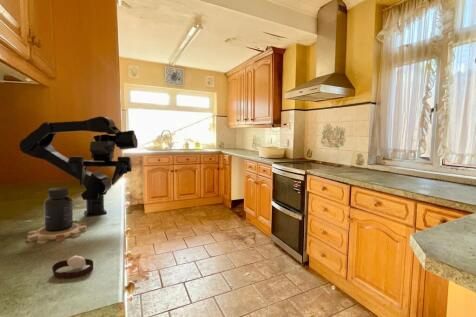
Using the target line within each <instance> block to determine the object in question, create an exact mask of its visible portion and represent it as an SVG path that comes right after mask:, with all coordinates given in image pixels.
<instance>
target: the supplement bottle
mask: <svg viewBox="0 0 476 317" xmlns="http://www.w3.org/2000/svg"><path fill="white" fill-rule="evenodd" d="M68 195H69V188H68V187H65V186H64V187H63V186H62V187H52V188H49V189H47V197H48V198H46V199H45V200H44V201H43V213H44V214H43V215H44V216H43V217H44V225H45V230H46V231H49V232H57V231H63V230H66V229H69V228H70V227H72V225H73V221H74V220H73V219H74V218H73V216H74V214H73V198H72V197H71V196H70V195H69V196H68Z"/></svg>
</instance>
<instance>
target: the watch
mask: <svg viewBox="0 0 476 317" xmlns="http://www.w3.org/2000/svg"><path fill="white" fill-rule="evenodd" d="M85 266H88V267H86V268H84V267H85ZM65 267H70V268H72V269H77V270H76V271H71V272H70V271H68V272H67V271H66V272H65V271H62V272H58V270H60V269H61V268H65ZM82 268H84V269H82ZM78 269H82V270H78ZM51 270H52V273H53V277H55V278H56V277H57V278H56V279H62V278H64V279H63V280H66V279H69V280H70V279H75V278H80V277H85V276H87V275H89V274H90V273H92V271H94V261H93V260H92V259H89V258H85V257H83V256H80V255H76V254H75V255H74V256H71V257H70V258H69V259H66V260H65V259H64V260H61V261H58V262H56V263H54V264H52V268H51Z"/></svg>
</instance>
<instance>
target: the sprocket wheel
mask: <svg viewBox="0 0 476 317" xmlns="http://www.w3.org/2000/svg"><path fill="white" fill-rule="evenodd" d="M36 228H37V229H35V230H33V229H32V230H29V231H28V232H27V236H26V237H27V238H26V240H27V242H29V243H31V242H35V241H36V242H37V244H46V243H48V242H49V241H56V243H58V242H64V241H65V240H66V238H70V237H71V238H72V237H73V238H77V237H79V236H81V235H82V234H81V233H82V232H87V231H88V225H87V223H86V222H84V221H80V222H77V220H73V225H72V227H70V228H69V229H66V230H63V231H57V232H49V231H46V230H45V224H44V225H40V226H38V227H36Z"/></svg>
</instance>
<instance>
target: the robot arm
mask: <svg viewBox="0 0 476 317" xmlns="http://www.w3.org/2000/svg"><path fill="white" fill-rule="evenodd" d="M76 132H79V133H80V132H94V133H98V135H94V136H93V140H94V141H90V142H89V143H90V144H89V150H88V151H89V152H90V153H91V156H90V157H91V159H85V157H84V156H81V155H80V156H70V157H69V158H68V157H67V156H65V155H63V154H61V152H58V151H57V150H55V147H54V146H53V145H52V142H53V141H54V140H55V136H56V135H57V134H59V133H60V134H61V133H76ZM99 133H104V134H99ZM138 144H139V143H138V138H137V136H136V133H135V130H133V129H130V130H127V131H121V130H120V128H119V127H117V126H116V124H115V121H114V120H113V119H112V118H110V117H105V116H96V117H91V118H88V119H85V120H77V121H76V120H75V121H57V122H48V121H45V122H43V123H41V124H40V125H39V126H38V128H36V129H35V130H33V131H32V132H31V133H29V134H28V135H27V136H26V137H25V138H23V139H21V141H20V142H19V150H20V152H21V153H22V154H25V155H27V156H30V157H32V158H34V159H40V160H42V161H45V162H47V163H48V164H51V165H52V166H54V167H56V168H57V169H59V170H61V171H62V172H64V173H65V174H68V175H69V176H71V177H72V178H74V179H76V180H78V182H79V185H80V186H83V187H84V189H85V190H84V191H83V192H82V193H81V194H80V196H81V197H82V200H83V201H86V203H85V204H86V209H85V210H84V214H85V216H86V217H92V216H98V215H99V216H100V215H105V214H107V211H106V209H105V199H104V198H105V196H106V195H107V193H108V191H109V190H110V189H111V188H112V186H114V185H115V184H116V183H117V182H118V180H119V179H120V178H121V177H123V175H125V174H128V173H131V172H132V168H133V164H132V159H131V157H130V156H118V157H117V158H116V159H117V160H113V159H114V158H115V155H114V153H115V149H116V147H117V148H119V149H120V150H129V149H130V150H131V149H137V148H138V147H139V146H138ZM88 167H97V168H115V169H114V172H113V174H112V179H110V178H109V175H107V174H104V173H102V172H101V171H100V170H97V171H94V172H91V171H89V170H88Z"/></svg>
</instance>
